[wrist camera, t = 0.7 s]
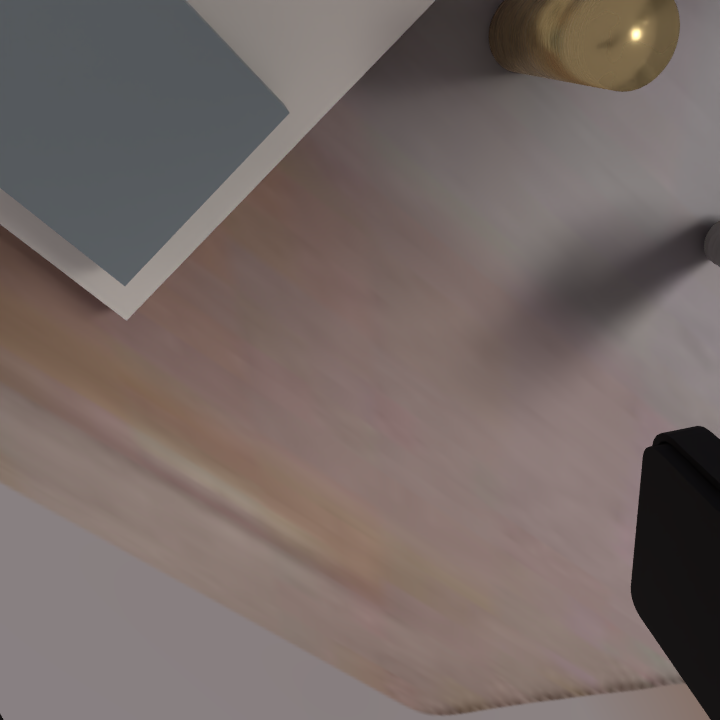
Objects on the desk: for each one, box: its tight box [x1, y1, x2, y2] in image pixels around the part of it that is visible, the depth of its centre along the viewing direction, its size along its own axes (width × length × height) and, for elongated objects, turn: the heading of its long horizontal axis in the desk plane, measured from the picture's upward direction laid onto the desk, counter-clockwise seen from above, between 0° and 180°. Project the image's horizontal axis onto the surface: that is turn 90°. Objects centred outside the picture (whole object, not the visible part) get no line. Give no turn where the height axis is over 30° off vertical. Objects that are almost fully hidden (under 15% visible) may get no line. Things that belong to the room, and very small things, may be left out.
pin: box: [489, 0, 680, 92], centre depth 26 cm, size 3×3×9 cm
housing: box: [0, 0, 289, 286], centre depth 24 cm, size 9×9×3 cm
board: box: [0, 0, 435, 321], centre depth 26 cm, size 24×12×2 cm, turn 133°
